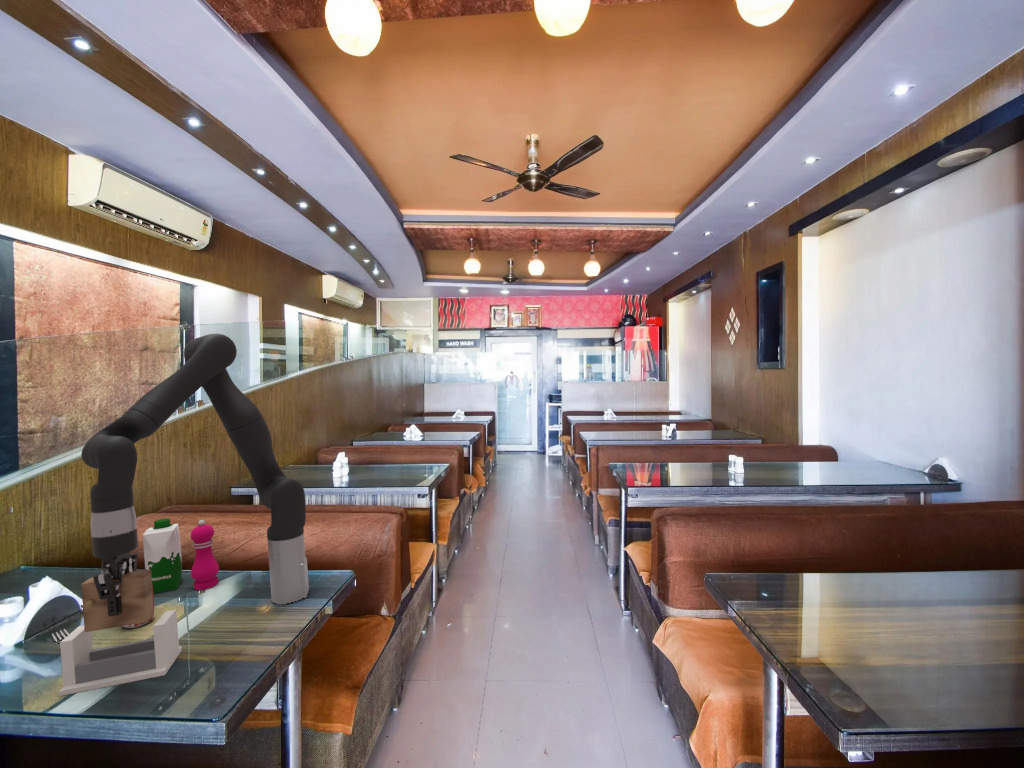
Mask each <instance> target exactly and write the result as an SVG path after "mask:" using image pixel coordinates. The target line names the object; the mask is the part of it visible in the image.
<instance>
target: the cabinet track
mask: <svg viewBox="0 0 1024 768" xmlns="http://www.w3.org/2000/svg"><path fill="white" fill-rule="evenodd" d="M178 627H179V626H178V614H177V609H171V610H166V611H165V612H164V613H163V614H162V615H161V616H160V618H159V619H158V620H157V621H156V622H155V623H154V625H152V630H153V631H152V632H153V638H148V639H143V640H137V641H132V642H126V643H121V644H116V645H109V646H103V647H99V648H98V647H97V648H94V649H93V637H92V631H90V632H85V630H84V624H81V625H79V626H78V627H76V628H74V630H73V631H71V633H69V635H67V636H66V638H62V639H63V640H62V641H60V642H59V643H60V644H59V646H60V647H59V648H60V659H61V671H62V683H63V687H61V689H59V691H58V695H59V697H62V696H68V695H73V694H78V693H82V692H87V691H92V690H97V689H102V688H107V687H112V686H116V685H117V686H118V685H122V684H127V683H132V682H133V683H134V682H137V681H143V680H147V679H148V680H149V679H151V678H157V677H161V676H162V677H163V676H165V675H166V674H167V673H168V671H169V670H170V668H171V667H172V666H173V664H174V662H175V661H176V660H177V659H178V657H179V655H180V654H181V653H182V650H183V649H182V645H180V640H179V629H178Z"/></svg>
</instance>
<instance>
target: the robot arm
mask: <svg viewBox="0 0 1024 768" xmlns="http://www.w3.org/2000/svg"><path fill="white" fill-rule="evenodd" d="M237 350H238V349H237V347H236V344H235V342H234V341H233V339H231V338H230V337H229V336H227V335H224V334H222V333H209V334H206V335H202V336H198V337H196V338H194V339H191V340H190V341H189V340H188V342H186V345H185V347H184V349H183V358H184V361H185V363H184V364H183V365H182V366H181V367H180V368H179V369H177V370H175V371H174V373H173V374H171V375H169V377H167V378H165V379H164V380H162V382H160V383H158V384H157V385H156V386H155V385H154V387H152V388H151V389H150V390H149V391H148V392H146V393H144V395H142V396H141V397H140V398H139V399H138V400H137V401H136V402H135V403H134V404H133V405H131V406H130V407H129V409H127V410H126V411H125V412H124V413H123V414H122V415H121V416H120V417H118V418H117V419H115V420H114V421H112V422H110V423H109V424H108V425H106V426H105V427H104V428H102V429H101V430H98V432H96V433H94V435H93V436H91V438H89V439H88V441H87V442H86V443H85V444H84V446H83V447H82V450H81V459H82V461H83V463H84V464H85V465H87V466H88V467H90V468H92V469H98V470H97V471H98V473H97V482H96V483H95V484H93V485H92V486H91V489H90V493H89V494H90V495H89V496H90V511H91V512H90V513H91V515H90V516H91V517H90V532H91V533H90V535H91V549H92V556H93V557H94V558H99V559H101V560H102V561H101V566H100V567H101V569H100V574H99V573H97V574H94V576H93V577H94V582H95V585H96V588H97V591H98V594H99V597H100V600H102V599H107V607H108V616H116V615H120V614H121V613H122V604H121V585H122V584H123V578H124V575H125V574H126V573H130V572H135V571H137V565H138V556H139V555H138V553H137V552H136V553H135V552H134V553H131V552H133V551H135V550H136V549H138V548H139V541H138V540H139V539H138V537H139V536H138V523H137V514H136V509H135V504H134V502H135V499H134V490H133V485H134V480H135V476H136V470H137V464H138V452H137V451H138V450H137V448H136V446H135V444H136V443H137V442H138V441H141V440H142V439H146V438H149V437H151V436H152V435H153V434H154V433H156V431H158V429H160V428H161V427H162V426H163V425H164V423H166V422H167V420H169V418H171V416H173V415H174V413H176V411H177V410H178V409H179V408H180V407H181V406H182V405H183V404H184V403H185V402H186V401H188V400H189V398H190V397H191V396H193V395H194V394H195V393H196V392H197V391H198V390H199V389H201V387H202V389H203V390H204V392H205V393H206V395H207V397H208V399H209V401H210V402H211V405H212V407H213V408H214V410H215V412H216V413H217V415H218V418H219V419H220V422H221V423H222V425H223V428H224V429H225V431H226V433H227V436H228V437H229V439H230V441H231V443H232V445H233V446H234V449H236V451H237V453H238V454H239V456H240V458H241V460H242V461H243V463H244V465H245V466H246V468H247V469H248V471H249V473H250V476H251V478H252V480H253V484H254V486H255V489H256V491H257V495H258V496H259V499H260V501H261V503H262V504H263V506H265V507H266V508H267V509H268V510H270V514H271V515H270V517H271V518H270V521H271V522H270V525H269V527H267V530H266V537H267V538H266V539H267V540H266V541H267V554H268V568H269V582H270V596H271V602H273V603H272V604H274V603H275V604H274V605H288V604H287V603H289V604H292V603H291V602H293V603H296V602H299V601H301V600H303V599H302V598H305V599H307V598H306V597H308V595H307V594H309V591H310V585H309V573H308V572H309V571H308V569H309V568H308V558H307V557H306V547H305V545H306V544H305V529H304V527H305V526H306V525H305V524H306V519H307V515H306V513H307V512H306V493H305V490H304V487H303V485H302V483H301V482H300V481H298V480H296V479H294V478H288V477H287V476H286V474H285V473H284V472H283V470H282V469H281V467H280V465H279V464H278V462H277V459H276V457H275V454H274V449H273V441H272V435H271V432H270V429H269V426H268V424H267V422H266V421H265V418H264V417H263V415H262V412H261V411H260V409H259V408H258V407H257V405H256V404H255V403H254V402H253V401H252V400H251V399H250V398H249V397H248V396H246V394H244V393H243V392H242V390H240V389H239V388H238V387H237V385H236V384H235V383H234V382H233V380H232V378H231V376H230V373H229V372H228V370H227V368H228V367H229V366H231V365H232V364H233V363H234V361H235V360H236V357H237V355H238V354H237V353H238V351H237ZM117 579H119V580H118V581H117V582H113V580H117ZM115 586H116V589H115ZM104 590H105V592H104ZM300 599H301V600H300ZM298 600H299V601H298ZM295 601H296V602H295Z"/></svg>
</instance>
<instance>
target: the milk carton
mask: <svg viewBox="0 0 1024 768" xmlns="http://www.w3.org/2000/svg"><path fill="white" fill-rule="evenodd" d="M142 538H143V540H142V542H143V543H142V545H143V557H144V570H149V569H151V579H152V586H153V595H154V594H158V593H163V592H169V591H173V590H177V589H178V588H179V585H180V584H181V582H182V571H183V560H182V559H183V558H182V544H181V536H180V528H179V523H171V519H170V518H160V519H157V520H154V521H153V527H149V528H148V529H146V530H145V531H144V532H143V534H142Z"/></svg>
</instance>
